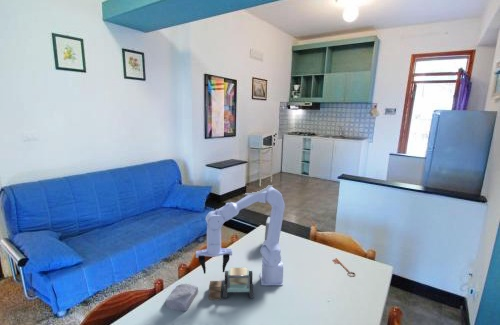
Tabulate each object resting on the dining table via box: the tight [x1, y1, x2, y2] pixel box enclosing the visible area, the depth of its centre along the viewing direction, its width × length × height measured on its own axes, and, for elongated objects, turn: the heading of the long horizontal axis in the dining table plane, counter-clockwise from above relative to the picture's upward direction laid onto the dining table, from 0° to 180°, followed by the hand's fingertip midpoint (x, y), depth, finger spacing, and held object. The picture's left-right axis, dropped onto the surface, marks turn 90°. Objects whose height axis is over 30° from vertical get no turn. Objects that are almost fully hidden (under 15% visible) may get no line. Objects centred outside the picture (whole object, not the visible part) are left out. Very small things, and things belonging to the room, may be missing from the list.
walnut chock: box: [208, 280, 223, 301], centre depth 107 cm, size 4×7×6 cm, turn 2°
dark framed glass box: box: [222, 267, 254, 299], centre depth 109 cm, size 12×14×10 cm
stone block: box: [165, 283, 199, 312], centre depth 103 cm, size 12×5×10 cm
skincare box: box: [264, 216, 270, 241], centre depth 145 cm, size 8×7×16 cm
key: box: [332, 258, 356, 278], centre depth 127 cm, size 6×1×15 cm
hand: (214, 271), depth 106 cm, fingers open, 7 cm apart
